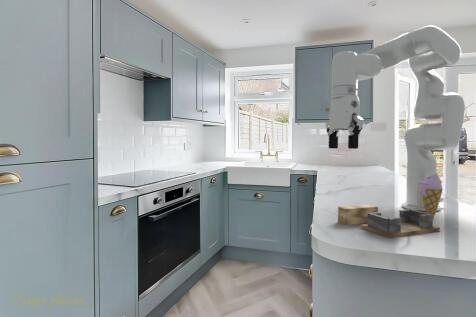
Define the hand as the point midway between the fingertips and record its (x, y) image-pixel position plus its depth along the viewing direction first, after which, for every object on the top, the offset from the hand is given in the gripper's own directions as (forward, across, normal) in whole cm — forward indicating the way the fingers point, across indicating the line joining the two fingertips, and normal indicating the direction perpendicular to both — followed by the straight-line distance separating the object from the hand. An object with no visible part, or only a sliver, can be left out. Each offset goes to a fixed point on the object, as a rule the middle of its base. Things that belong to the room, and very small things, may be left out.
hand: (342, 148), depth 96 cm
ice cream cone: (+23, -8, -28) cm, 37 cm away
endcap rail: (+23, -14, -9) cm, 28 cm away
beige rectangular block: (+23, -3, -4) cm, 24 cm away
